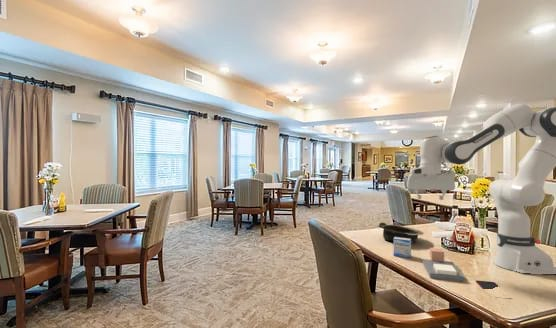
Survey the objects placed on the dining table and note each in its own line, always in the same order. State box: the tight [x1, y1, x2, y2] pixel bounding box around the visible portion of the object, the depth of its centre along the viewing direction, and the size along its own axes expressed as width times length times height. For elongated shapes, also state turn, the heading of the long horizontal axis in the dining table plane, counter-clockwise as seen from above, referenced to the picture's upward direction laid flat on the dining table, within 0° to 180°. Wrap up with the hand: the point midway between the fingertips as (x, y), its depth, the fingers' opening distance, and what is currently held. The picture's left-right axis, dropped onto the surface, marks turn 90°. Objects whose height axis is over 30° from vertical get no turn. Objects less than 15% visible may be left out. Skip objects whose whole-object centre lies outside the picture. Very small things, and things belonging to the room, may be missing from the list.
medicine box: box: [392, 237, 412, 259], centre depth 142 cm, size 8×4×9 cm, turn 62°
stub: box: [429, 247, 445, 261], centre depth 131 cm, size 5×5×4 cm
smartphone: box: [475, 280, 499, 290], centre depth 105 cm, size 7×1×14 cm
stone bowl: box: [377, 222, 425, 244], centre depth 169 cm, size 25×25×9 cm
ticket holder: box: [422, 258, 465, 282], centre depth 121 cm, size 12×17×4 cm
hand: (430, 199), depth 136 cm, fingers open, 8 cm apart
